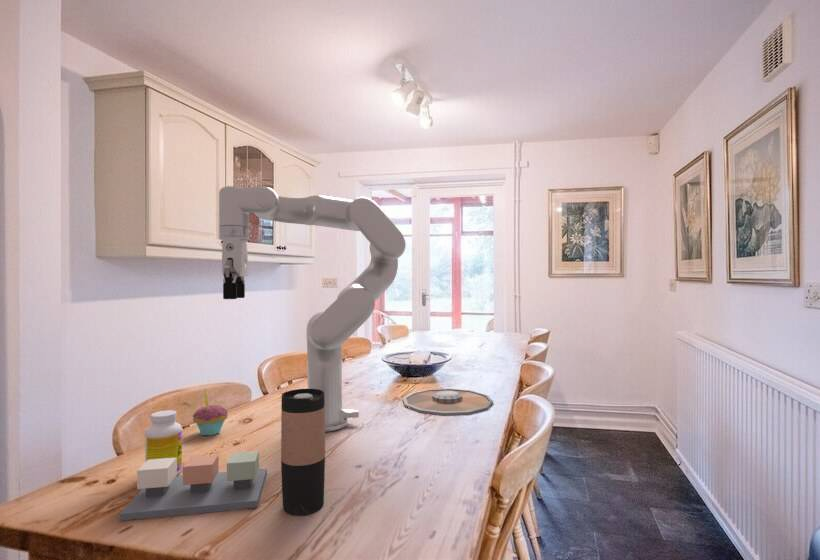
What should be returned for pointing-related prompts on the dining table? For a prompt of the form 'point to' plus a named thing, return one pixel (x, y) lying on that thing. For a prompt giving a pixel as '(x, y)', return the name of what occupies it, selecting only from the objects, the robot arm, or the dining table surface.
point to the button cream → (156, 473)
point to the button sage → (242, 466)
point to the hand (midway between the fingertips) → (234, 298)
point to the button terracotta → (200, 469)
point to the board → (196, 497)
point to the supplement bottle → (164, 438)
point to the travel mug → (303, 451)
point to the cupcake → (210, 418)
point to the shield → (447, 401)
